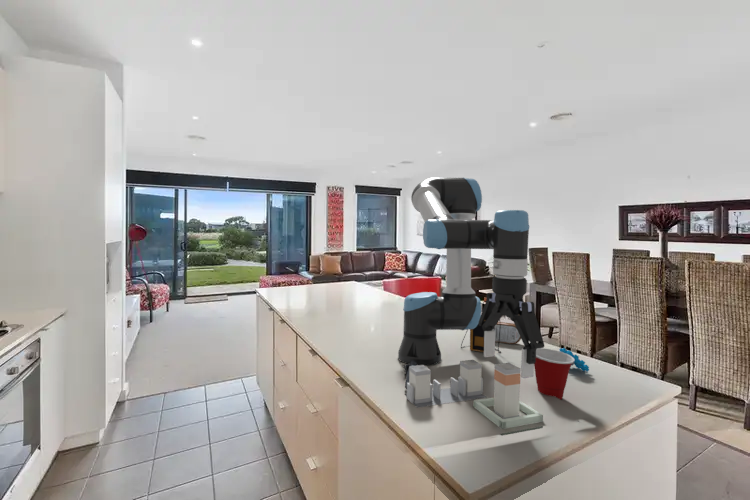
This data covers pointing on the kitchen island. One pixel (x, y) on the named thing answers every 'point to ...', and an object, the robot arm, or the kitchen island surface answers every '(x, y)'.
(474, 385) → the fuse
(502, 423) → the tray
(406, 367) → the can opener
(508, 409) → the block
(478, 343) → the multimeter
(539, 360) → the plastic cup
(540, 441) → the kitchen island surface
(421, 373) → the grey block
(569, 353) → the blue knobby plastic piece
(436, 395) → the block
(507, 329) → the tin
